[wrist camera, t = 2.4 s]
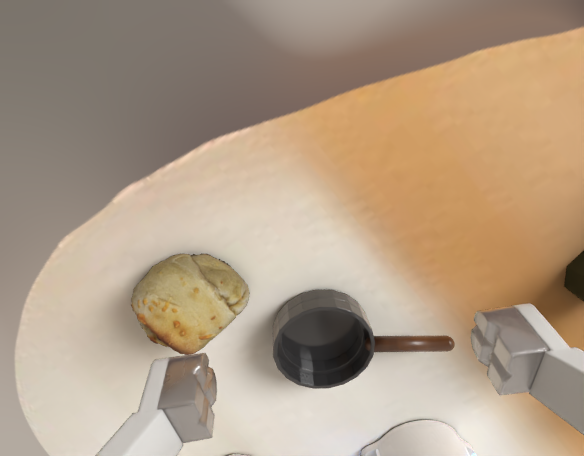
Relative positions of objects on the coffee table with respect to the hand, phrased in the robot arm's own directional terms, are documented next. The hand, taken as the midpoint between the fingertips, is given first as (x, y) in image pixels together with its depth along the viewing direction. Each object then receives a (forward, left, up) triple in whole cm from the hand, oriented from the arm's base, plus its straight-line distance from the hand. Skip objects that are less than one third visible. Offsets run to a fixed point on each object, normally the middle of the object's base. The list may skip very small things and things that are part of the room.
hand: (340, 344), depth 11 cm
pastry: (-19, +12, -33) cm, 40 cm away
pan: (-25, -5, -33) cm, 42 cm away
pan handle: (-25, -17, -30) cm, 43 cm away
